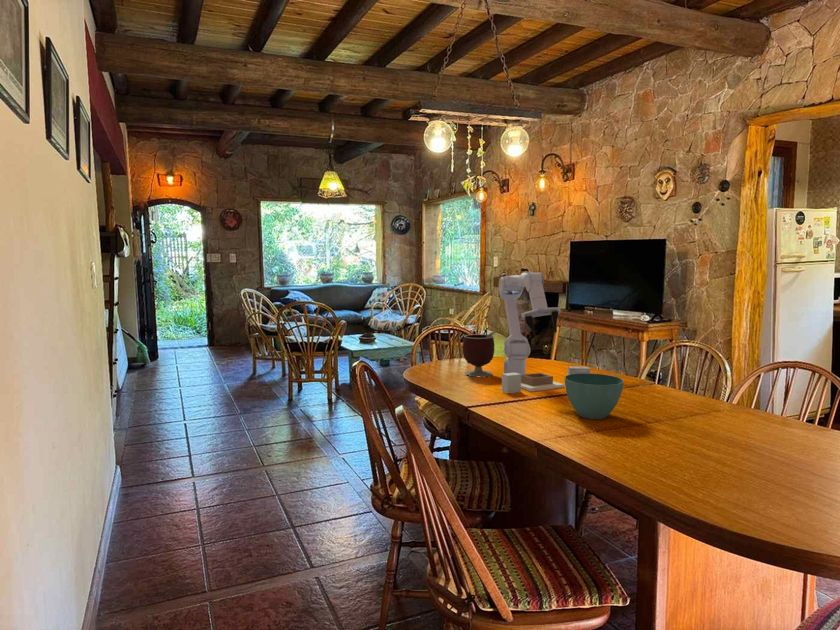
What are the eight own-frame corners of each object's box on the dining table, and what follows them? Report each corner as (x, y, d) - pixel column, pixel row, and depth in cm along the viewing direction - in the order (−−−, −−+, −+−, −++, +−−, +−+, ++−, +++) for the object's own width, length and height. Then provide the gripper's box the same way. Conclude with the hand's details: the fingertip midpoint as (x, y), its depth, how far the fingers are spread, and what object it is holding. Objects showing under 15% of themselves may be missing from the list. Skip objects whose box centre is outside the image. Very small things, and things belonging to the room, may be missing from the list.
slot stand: (510, 384, 232) (510, 374, 232) (541, 380, 239) (542, 370, 239) (530, 391, 219) (531, 380, 219) (564, 387, 226) (564, 376, 226)
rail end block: (501, 391, 220) (501, 373, 219) (514, 390, 222) (514, 372, 222) (507, 393, 216) (507, 375, 215) (520, 392, 219) (521, 374, 218)
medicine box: (587, 388, 225) (588, 366, 224) (590, 390, 221) (590, 368, 220) (567, 387, 226) (567, 366, 225) (569, 390, 221) (569, 368, 221)
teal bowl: (620, 410, 191) (621, 374, 190) (624, 425, 174) (625, 386, 173) (564, 407, 196) (565, 371, 195) (563, 421, 179) (563, 382, 178)
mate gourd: (459, 376, 248) (459, 331, 246) (466, 370, 262) (466, 327, 260) (495, 378, 244) (495, 332, 242) (500, 372, 257) (500, 328, 255)
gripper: (519, 299, 216) (525, 332, 210) (557, 293, 214) (565, 325, 208) (519, 307, 222) (525, 339, 216) (556, 301, 221) (564, 333, 215)
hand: (545, 333), depth 213 cm, fingers open, 7 cm apart
